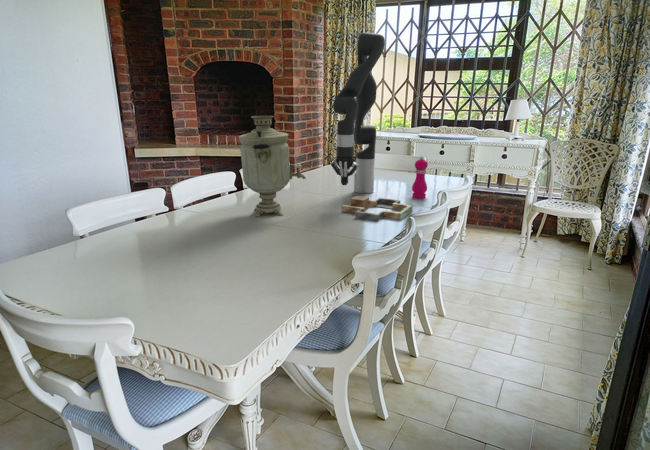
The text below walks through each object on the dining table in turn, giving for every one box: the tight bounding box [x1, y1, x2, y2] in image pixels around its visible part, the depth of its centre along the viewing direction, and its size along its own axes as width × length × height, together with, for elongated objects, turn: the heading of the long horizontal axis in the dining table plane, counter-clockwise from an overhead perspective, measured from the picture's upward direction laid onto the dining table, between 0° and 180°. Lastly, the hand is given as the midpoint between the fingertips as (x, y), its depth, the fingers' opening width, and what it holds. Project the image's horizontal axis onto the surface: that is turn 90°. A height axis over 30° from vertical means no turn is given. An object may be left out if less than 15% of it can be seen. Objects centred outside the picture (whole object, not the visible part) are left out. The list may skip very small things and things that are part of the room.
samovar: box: [238, 115, 307, 218], centre depth 173 cm, size 30×26×40 cm
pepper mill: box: [411, 155, 429, 200], centre depth 203 cm, size 7×7×20 cm
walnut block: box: [350, 195, 370, 211], centre depth 186 cm, size 6×6×5 cm
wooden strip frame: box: [341, 197, 413, 222], centre depth 182 cm, size 26×27×2 cm
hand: (344, 184), depth 187 cm, fingers closed
